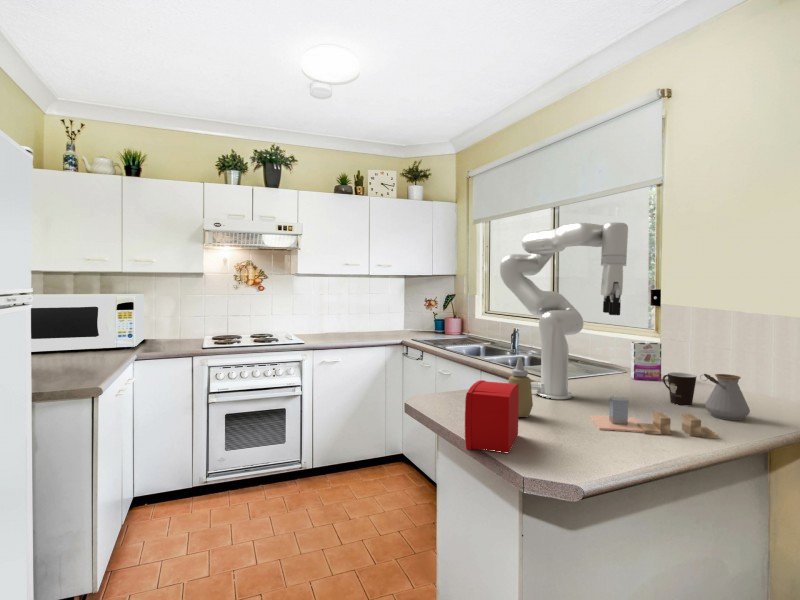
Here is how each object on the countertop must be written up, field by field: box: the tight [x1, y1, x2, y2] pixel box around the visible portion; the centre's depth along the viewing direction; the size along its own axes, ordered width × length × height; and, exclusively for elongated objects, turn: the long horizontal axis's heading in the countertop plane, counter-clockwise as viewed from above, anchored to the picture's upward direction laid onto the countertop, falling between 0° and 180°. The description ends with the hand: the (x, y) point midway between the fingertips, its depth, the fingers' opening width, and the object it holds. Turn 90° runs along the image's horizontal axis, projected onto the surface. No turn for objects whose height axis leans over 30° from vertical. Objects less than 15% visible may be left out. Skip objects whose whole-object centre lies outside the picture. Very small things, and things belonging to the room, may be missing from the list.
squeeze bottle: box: [508, 357, 534, 418], centre depth 143 cm, size 8×8×18 cm
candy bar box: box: [630, 341, 662, 382], centre depth 201 cm, size 11×5×16 cm, turn 81°
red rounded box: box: [464, 380, 519, 453], centre depth 119 cm, size 16×11×15 cm
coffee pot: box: [699, 373, 751, 421], centre depth 141 cm, size 21×12×15 cm, turn 123°
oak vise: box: [637, 411, 719, 440], centre depth 128 cm, size 18×7×4 cm, turn 78°
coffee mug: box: [662, 372, 697, 406], centre depth 161 cm, size 12×9×10 cm
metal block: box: [608, 396, 629, 425], centre depth 135 cm, size 4×4×7 cm
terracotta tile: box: [589, 414, 644, 433], centre depth 135 cm, size 13×13×1 cm
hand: (611, 313), depth 150 cm, fingers open, 9 cm apart
